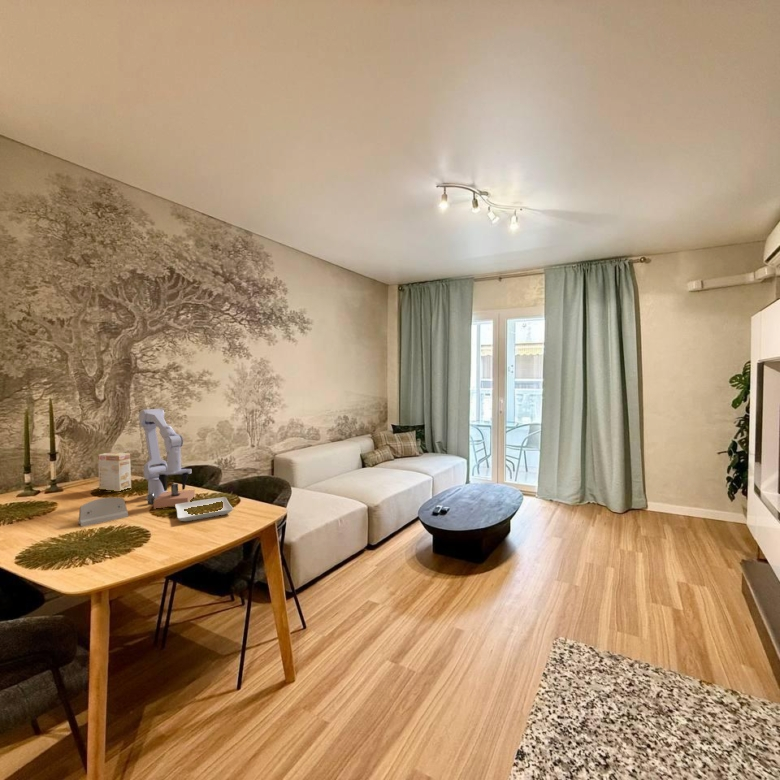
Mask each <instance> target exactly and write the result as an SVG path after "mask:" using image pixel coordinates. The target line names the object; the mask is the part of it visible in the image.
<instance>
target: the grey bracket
mask: <svg viewBox="0 0 780 780" xmlns="http://www.w3.org/2000/svg"><path fill="white" fill-rule="evenodd" d="M78 515H79V516H78V525H80V527H81V528H84V527H87V526H91V525H92V526H93V525H97V524H102V523H106V522H111V521H114V520H120V519H124V518H129V512H128V509H127V504H126V501H125V499H124V498H123V497H113V496H111V497H110V496H109V497H108V496H107V497H101V498H97V499H94V500H91V501H88V502H86V503H84V504H82V505H80V507H79V513H78Z"/></svg>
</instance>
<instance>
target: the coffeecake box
mask: <svg viewBox="0 0 780 780" xmlns="http://www.w3.org/2000/svg"><path fill="white" fill-rule="evenodd" d="M97 456H98V457H97V458H98V459H97V461H98V485H99V486H98V490H99V489H106V490H114V491H121V490H124V489H127V488H131V489H132V471H131V469H132V467H131V466H132V465H131V453H129V452H128V453H127V452H126V453H125V452H104V453H100V454H97Z"/></svg>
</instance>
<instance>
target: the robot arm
mask: <svg viewBox="0 0 780 780" xmlns="http://www.w3.org/2000/svg"><path fill="white" fill-rule="evenodd" d="M165 414H166V413H165V410H164V409H163V408H161V407H160V408H150V409H143V408H142V409H141V410H140V411H139V415H138V420H139V424H140V427H141V428H144V435H145V442H146V448H147V453H148V454H147V455H148V456H147V457H148V461H147V462H146V463H145V464H144V465H143V478H144V479H145V480H147V486H148V487H147V490H148V491H147V493H148V494H151V493H154V499H156V498H157V497H158V496H159V495H160V494H161V493H163V492H168V476H173V475H181V485H182V486H181V491H185V490H186V484H187V480H188V478H189V476H190V474H192V468H182V454H181V453H182V451H181V449H182V447H183V445H184V439H183V436H182V434H178V433H176V431H175V430H174V428H173V427H172V426H171V425H169V424H167V422H166V420H165ZM157 428H158V429H159V435H160V436H161V438H162V439H163V441H164V442H163V445H164V448H165V452H166V460H164V459H163V458H161V452H160V446H159V440H158V435H157ZM145 500H148V497H147V496H146V497H145Z"/></svg>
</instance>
